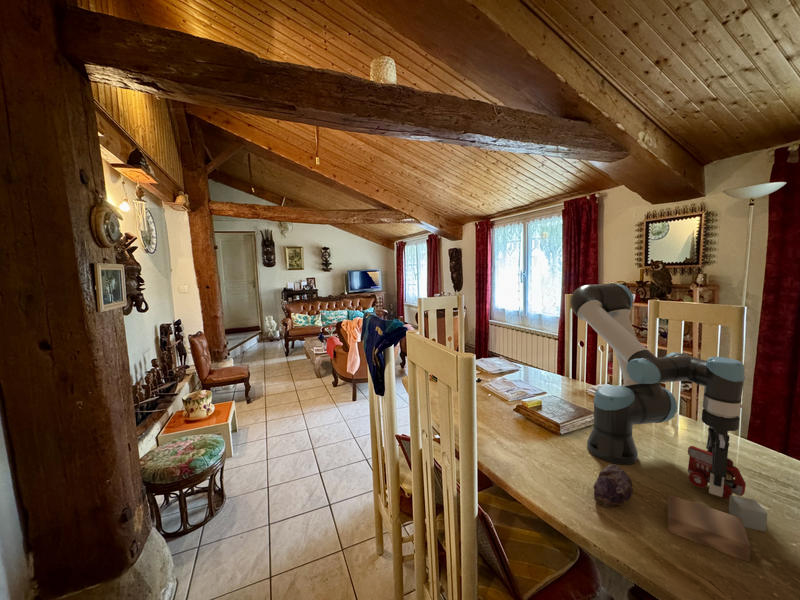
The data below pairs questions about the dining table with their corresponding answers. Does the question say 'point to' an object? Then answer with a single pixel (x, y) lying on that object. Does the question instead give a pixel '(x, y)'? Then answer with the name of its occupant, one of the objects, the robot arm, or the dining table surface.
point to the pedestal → (708, 527)
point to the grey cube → (748, 512)
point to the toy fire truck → (700, 476)
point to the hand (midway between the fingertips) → (713, 485)
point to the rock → (612, 486)
